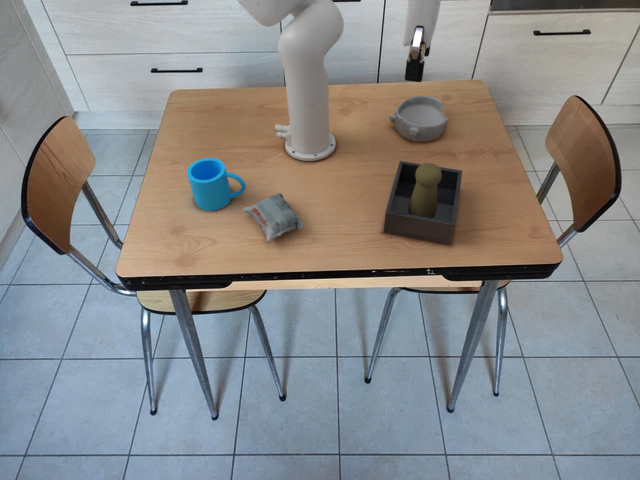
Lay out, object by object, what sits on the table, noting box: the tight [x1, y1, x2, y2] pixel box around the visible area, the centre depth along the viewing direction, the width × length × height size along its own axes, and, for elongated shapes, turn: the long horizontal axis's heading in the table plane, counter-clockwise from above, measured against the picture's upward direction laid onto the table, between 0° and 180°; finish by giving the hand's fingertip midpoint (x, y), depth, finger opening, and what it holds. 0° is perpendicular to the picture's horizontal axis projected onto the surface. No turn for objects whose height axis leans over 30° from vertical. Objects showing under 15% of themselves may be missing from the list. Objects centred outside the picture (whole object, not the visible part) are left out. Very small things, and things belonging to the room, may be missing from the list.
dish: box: [388, 95, 449, 143], centre depth 124 cm, size 14×14×5 cm
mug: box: [186, 157, 247, 211], centre depth 107 cm, size 12×8×8 cm
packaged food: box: [242, 192, 305, 244], centre depth 103 cm, size 9×12×5 cm
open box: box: [382, 160, 463, 246], centre depth 104 cm, size 14×17×6 cm
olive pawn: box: [408, 162, 442, 217], centre depth 101 cm, size 6×6×11 cm
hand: (417, 67), depth 95 cm, fingers open, 9 cm apart
